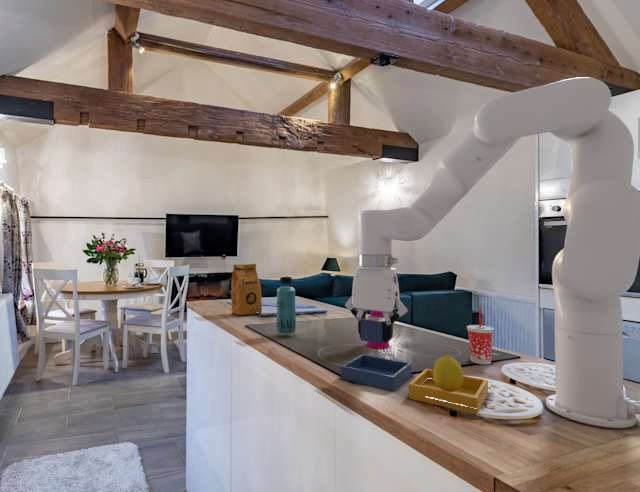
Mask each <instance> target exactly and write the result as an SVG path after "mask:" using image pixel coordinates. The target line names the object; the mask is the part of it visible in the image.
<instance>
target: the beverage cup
mask: <svg viewBox="0 0 640 492" xmlns="http://www.w3.org/2000/svg"><path fill="white" fill-rule="evenodd" d="M466 330H467V332H468V333H467V334H468V345H469V356H470V362H471V363H474V364H479V365H490V364H492V355H493V354H492V353H493V336H494V335H493V334H494V333H495V332H494V331H495V328H494V327H492V326H488V325H483V324H482V308H481V307H479V308H478V324H469V325H466Z"/></svg>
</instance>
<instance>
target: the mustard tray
mask: <svg viewBox="0 0 640 492" xmlns="http://www.w3.org/2000/svg"><path fill="white" fill-rule="evenodd" d="M427 378H432V379H427ZM426 379H427V380H426ZM433 379H434V376H433V369H431V368H425V369H424V370H423V371H421V373H419V374H418V375H417V376H416V377H414V379H413V380H411V381H410V382H409V383H408V399H410V400H415V401H418V402H423V403H427V404H431V405H435V406H439V407H444V408H449V409H452V410H457V411H461V412H465V413H469V414H472V415H473V414H474V415H478V413H479V412H480V410H481V408H482V406H483V404H484V403H485V401H486V399H487V397H488V395H489V380H488V379H483V378H478V377H473V376H468V375H463V383H462V385H461V387H460V388H459V389H458V390H457V391H454V392H449V391H444V390H442V389H440V388H439V387H438V386H437V384H436V383H435V381H434V380H433ZM425 380H426V381H425ZM424 381H425V382H424ZM423 382H424V383H423ZM422 383H423V384H422ZM421 384H422V385H421ZM425 396H428V397H434V398H438V399H442V400H446V401H448V402H452V403H458V404H463V405H466V406H470V407H474V408H477V407H478V408H477V409H474V408H470V407H465V406H461V405H456V404H452V403H448V402H443V401H439V400H435V399H430V398H426V397H425ZM483 397H484V398H483ZM480 402H481V403H480ZM479 404H480V405H479Z"/></svg>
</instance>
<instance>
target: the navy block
mask: <svg viewBox="0 0 640 492" xmlns="http://www.w3.org/2000/svg"><path fill="white" fill-rule="evenodd" d="M384 325H385V319H384V318H382V317H374V316H370V315H368V316H366V317H365V318H363V319H361V338H360V341H362V342H367V341H368V342H374V343H380V344H382V343H384V341H383V326H384Z"/></svg>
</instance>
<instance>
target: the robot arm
mask: <svg viewBox="0 0 640 492" xmlns="http://www.w3.org/2000/svg"><path fill="white" fill-rule="evenodd" d="M611 104H612V93H611V89H610V88H609V86H608V85H607V84H606V83H605V82H604V81H602V80H600V79H597V78H594V77H587V76H584V77H583V76H582V77H581V76H580V77H573V78H568V79H567V78H566V79H562V80H559V81H555V82H551V83H547V84H543V85H539V86H534V87H531V88H530V87H529V88H526V89H523V90H518V91H513V92H510V93H506V94H502V95H499V96H497V97H494V98H491V99H489V100H488V101H486V102H485V103H483V104H482V105H481V106H480V108H479V109H477V112H476V113H475V118H474V124H473V125H472V126H471V127H470V128H469V129H468V130H467V131H466V132H465V134H464V135H463V136H462V137H461V138H460V139H459V140H458V142H457V143H456V144H455V145H454V146H453V147H452V148H450V150H449V151H448V153H446V154H445V155H444V157H442V159H441V160H440V161H439V162H438V164H437V165H436V167H435V169H434V172H433V175H432V177H431V179H430V181H429V183H428V184H427V186H426V187H425V189H424V190H423V191H422V192H421V194H420V195H419V196H418V197H417V198H416V199H415V201H414V202H412V204H410V206H405V207H398V208H393V209H366V210H361V211H360V212H359V213H358V215H357V267H356V266H355V270H354V274H353V280H352V289H351V290H352V291H351V296H350V297H349V298H348V300H346V302H345V303H344V306H345V308H346V309H347V310H349V311H350V313H351V314H352V315H353V316H354V318H355V320H356V321H357V333H358V334H359V339H361V319H363V318H365V317H367V313H368V311H371V310H372V311H380V312H383V316H384V319H385V325H384V326H383V341H384V342H388V341H389V342H390V341H391V340H392V339H393V337H394V324H395V322H396V321H398V320H399V319H400V318H401V317H403V316H404V315H407V314H408V312H409V310H408V308H407V307H406V305H405V304H404V303H403V301H401V299H400V286H399V279H398V273H397V269H396V268H395V267H393V265H397V264H398V263H399V259H398V257H393V254H392V240H395V241H402V242H412V241H418V240H421V239H423V238H424V237H426V236H427V235H429V233H431V231H432V230H433V229H434V228H436V226H437V225H439V223H440V222H442V220H443V219H444V218H446V216H447V215H448V214H449V213H450V212H451V211H452V209H453V208H455V206H456V205H457V204H458V203H459V202H460V201H461V200H463V198H464V197H465V196H467V195H468V194H469V192H470V191H471V190H472V189H473V188H474V187H475V185H477V183H478V182H479V181H480V180H481V179H483V177H484V176H485V175H486V174H487V173H488V172H489V171H490V170H491V169H492V168H493V167H494V166H496V164H497V163H498V162H499V160H501V159H502V158H503V157H504V156H505V155H506V154H507V153H508V152H509V151H510V150H511V149H512V148H513V147H514V146H515V145H516V144H517V142H518V141H519V140H520V139H521V138H523V137H530V136H535V135H541V134H547V133H550V134H551V135H553V136H554V137H556V138H558V139H561V140H562V141H564V142H565V143H566V145H567V146H568V147H569V149H570V152H571V153H570V154H571V161H570V173H569V181H568V187H567V192H566V197H565V201H564V204H563V210H562V211H563V218H564V221H565V223H567V226H566V232H565V238H564V246H563V249H561V250H560V251H558V253H557V254H556V255H555V257H554V260H553V262H552V268H551V279H552V288H553V289H552V290H553V307H554V365H555V366H554V367H555V368H554V373H555V374H554V375H555V377H554V378H555V393H554V394H550V395H549V396H547V397H546V398H545V406H546V407H547V408H548V409H549V410H550V411H552V412H553V413H555V414H557V415H558V416H561V417H563V418H566V419H567V420H570V421H575V422H579V423H582V424H585V425H589V426H594V427H601V428H608V429H609V428H610V429H611V428H612V429H627V428H630V427H634V426H635V425H636V423H637V417H636V415H640V400H634V399H631V397H627V394H626V391H625V390H624V361H623V359H624V358H623V356H624V355H623V354H624V351H623V350H624V349H623V332H624V331H623V310H622V302H621V301H622V300H621V296H622V295H624V294H625V293H626V292H627V291H628V290H629V289H630V288H631V287H632V286H633V284H634V282H635V280H636V276H637V273H638V268H639V263H640V191H639V189H637V188H636V187H635V186H634V185H632V179H633V165H634V156H635V144H634V139H633V134H632V133H631V131H630V129H629V127H628V126H627V125H626V123H624V121H623V120H622V119H621V118H620V117H619V116H618V115H616V114H615V113H614V112H612V111H611V110H609V109H610V107H611ZM394 310H395V311H396V310H397V311H396V312H395V313H393V311H394Z"/></svg>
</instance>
